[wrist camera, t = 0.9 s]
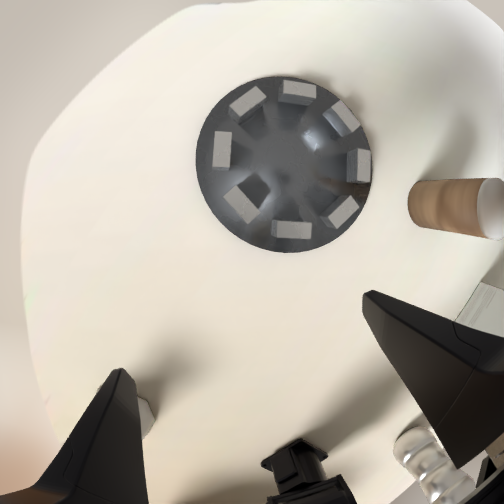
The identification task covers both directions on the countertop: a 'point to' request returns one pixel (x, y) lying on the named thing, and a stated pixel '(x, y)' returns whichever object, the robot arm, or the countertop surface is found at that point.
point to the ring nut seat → (284, 164)
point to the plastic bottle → (432, 467)
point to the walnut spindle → (459, 206)
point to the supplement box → (484, 310)
